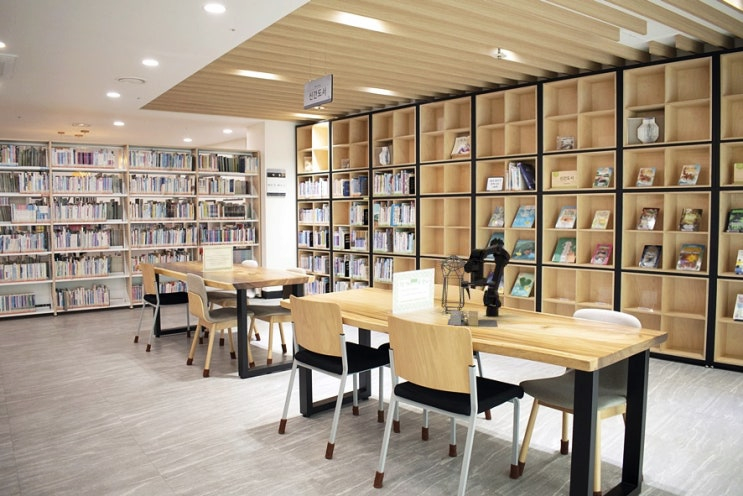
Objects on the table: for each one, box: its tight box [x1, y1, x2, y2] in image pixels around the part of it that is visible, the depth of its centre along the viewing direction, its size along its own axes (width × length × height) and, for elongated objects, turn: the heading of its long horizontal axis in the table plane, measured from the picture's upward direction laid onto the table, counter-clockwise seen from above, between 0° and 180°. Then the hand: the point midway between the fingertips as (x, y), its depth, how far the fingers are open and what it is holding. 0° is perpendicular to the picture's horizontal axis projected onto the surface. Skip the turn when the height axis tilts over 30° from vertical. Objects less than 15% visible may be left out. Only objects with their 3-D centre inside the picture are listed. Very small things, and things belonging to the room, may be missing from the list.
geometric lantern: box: [440, 254, 467, 314], centre depth 348 cm, size 16×16×35 cm
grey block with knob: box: [449, 309, 468, 327], centre depth 314 cm, size 16×9×5 cm, turn 170°
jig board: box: [447, 318, 499, 328], centre depth 313 cm, size 18×26×1 cm
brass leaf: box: [463, 310, 479, 327], centre depth 313 cm, size 16×8×5 cm, turn 170°
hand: (478, 299), depth 321 cm, fingers open, 9 cm apart
